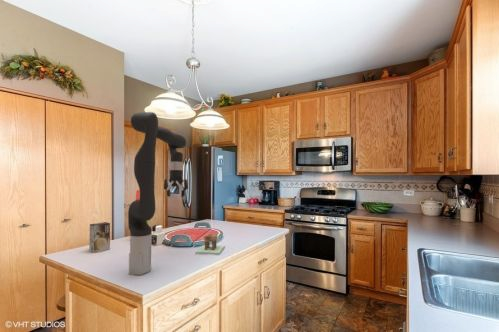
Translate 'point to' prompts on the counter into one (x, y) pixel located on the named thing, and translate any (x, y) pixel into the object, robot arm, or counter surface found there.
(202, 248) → the sage mat
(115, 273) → the counter surface
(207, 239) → the walnut stool
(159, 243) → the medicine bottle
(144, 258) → the robot arm
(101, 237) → the coffee box
